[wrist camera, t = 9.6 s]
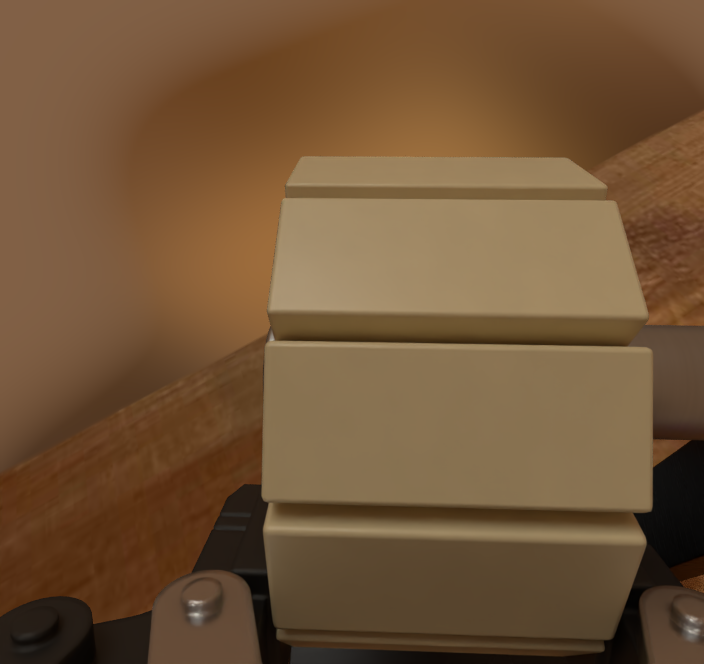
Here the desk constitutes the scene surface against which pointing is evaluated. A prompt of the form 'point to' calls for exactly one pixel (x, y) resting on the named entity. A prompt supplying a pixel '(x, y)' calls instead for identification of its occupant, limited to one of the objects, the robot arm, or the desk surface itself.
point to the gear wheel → (453, 408)
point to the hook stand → (658, 525)
